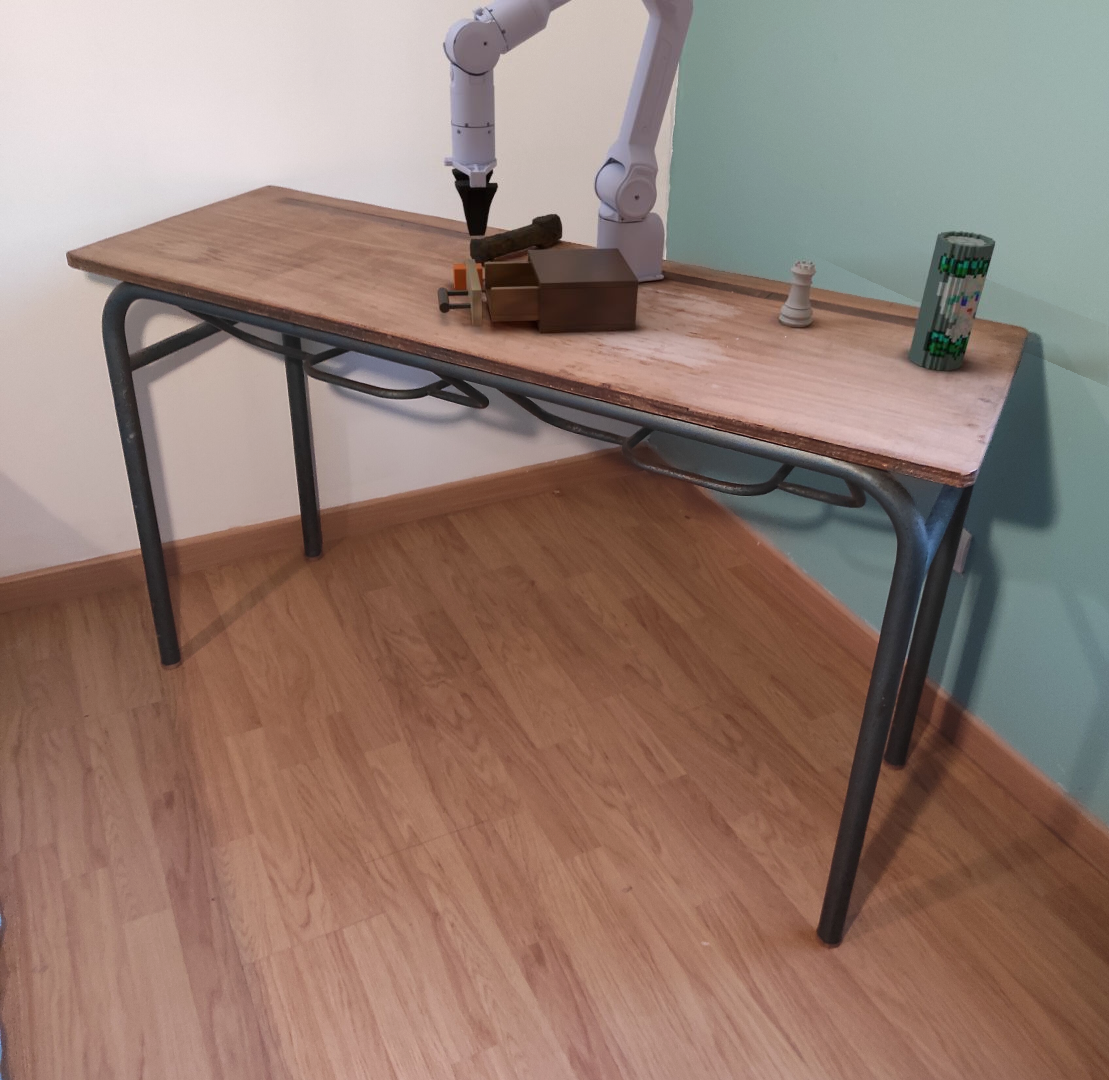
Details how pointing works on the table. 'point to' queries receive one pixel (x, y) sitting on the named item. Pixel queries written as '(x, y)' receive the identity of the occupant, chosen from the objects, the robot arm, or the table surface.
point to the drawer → (498, 292)
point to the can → (951, 299)
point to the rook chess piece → (799, 296)
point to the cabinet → (584, 290)
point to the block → (460, 276)
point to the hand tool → (518, 239)
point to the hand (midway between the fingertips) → (475, 228)
